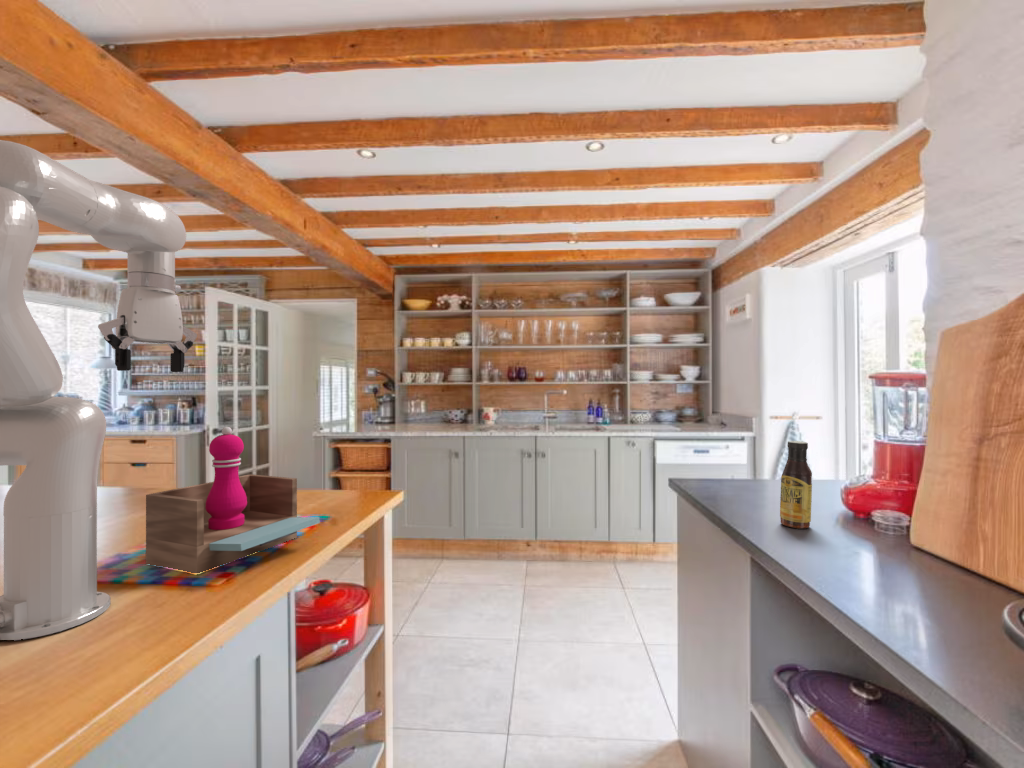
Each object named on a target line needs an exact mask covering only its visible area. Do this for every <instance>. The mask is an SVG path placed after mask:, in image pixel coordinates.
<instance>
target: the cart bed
mask: <svg viewBox="0 0 1024 768" xmlns="http://www.w3.org/2000/svg"><path fill="white" fill-rule="evenodd" d="M239 480H240V483H241V485H242V487H243V489H244V491H245V493H246V497H247V506H246V507H245V509H244V510H243V511H242V512H241V513H242V514H244V524H243V525H241V526H239V527H236V528H232V529H226V530H211V529H209V528H208V520H209V518H211V517H212V516H211V515H210V514H209V513H208V512H207V511H206V508H205V506H206V500H207V497H208V494H209V492H210V490H211V488H212V486H213V482H214V481H209V482H204V483H201V484H200V483H199V484H193V485H190V486H189V485H188V486H184V487H179V488H178V487H177V488H173V489H169V490H164V491H158V492H155V493H154V492H153V493H147V494H145V565H146V564H150V565H156V566H163V567H168V568H173V569H178V570H183V571H187V572H191V573H200V572H203V571H206V570H209V569H212V568H214V567H217V566H220V565H223V564H226V563H229V562H232V561H234V560H237V559H239V558H242V557H245V556H247V555H250V554H253V553H255V552H258V551H261V552H263V551H266V550H269V549H271V548H274V547H276V546H275V545H277V546H279V545H282V544H284V543H283V542H285V543H287V542H289V540H290V541H292V540H291V539H293V540H295V539H297V538H298V532H297V533H295V534H292V535H289V536H287V537H284V538H281V539H278V540H276V541H273V542H270V543H267V544H265V545H262V546H260V545H257V546H254V547H251V548H248V549H246V550H243V551H215V550H210V548H209V544H210V543H213V542H216V541H219V540H222V539H225V538H228V537H231V536H235V535H238V534H241V533H244V532H247V531H250V530H253V529H256V528H259V527H263V526H266V525H269V524H272V523H275V522H278V521H281V520H284V519H288V518H292V517H298V478H296V477H283V476H273V475H262V474H251V473H250V474H246V475H241V476H239ZM294 538H295V539H294ZM286 541H287V542H286ZM281 543H282V544H281ZM278 544H279V545H278ZM273 546H274V547H273ZM270 547H271V548H270ZM268 548H269V549H268ZM265 549H266V550H265ZM262 550H263V551H262ZM258 553H259V552H258ZM255 554H256V553H255ZM253 555H254V554H253ZM250 556H251V555H250ZM245 558H246V557H245ZM242 559H243V558H242ZM237 561H238V560H237ZM234 562H235V561H234ZM232 563H233V562H232ZM229 564H230V563H229ZM150 565H149V566H150ZM226 565H227V564H226Z"/></svg>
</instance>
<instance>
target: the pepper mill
mask: <svg viewBox="0 0 1024 768" xmlns="http://www.w3.org/2000/svg"><path fill="white" fill-rule="evenodd" d="M232 431H233V430H232V428H231V427H229V426H225V427H223V428H222V429H221V433H222V434H221V435H218V436H215V437H214V438H213V439H212V440H211V441H210V443H209V447H208V450H209V451H208V452H209V454H210V455H211V456H212V457H213V458H214V459H212V461H211V462H212V465H211V466H212V467H213V468H214V477H213V481H212V482H213V486H212V488H211V490H210V492H209V494H208V497H207V500H206V506H205V508H206V511H207V512H208V513H209V514H210V515H211V516H212V517H211V518H209V520H208V528H209V529H211V530H226V529H232V528H236V527H239V526H241V525H243V524H244V514H242V513H241V512H242V511H243V510H244V509H245V507H246V506H247V497H246V493H245V491H244V489H243V487H242V485H241V483H240V480H239V474H240V473H239V467H240V466H241V464H242V462H241V461H242V458H241V457H240V455H241V454H242V453H243V451H244V448H245V445H244V442H243V440H242V438H241V437H239V436H238V435H236V434H232Z"/></svg>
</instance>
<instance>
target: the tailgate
mask: <svg viewBox="0 0 1024 768" xmlns="http://www.w3.org/2000/svg"><path fill="white" fill-rule="evenodd" d="M320 521H321V520H320V517H319V516H311V517H309V516H308V517H305V516H304V517H301V516H300V517H299V516H297V517H292V518H288V519H284V520H281V521H278V522H275V523H272V524H269V525H266V526H263V527H259V528H256V529H253V530H250V531H247V532H244V533H241V534H238V535H235V536H231V537H228V538H225V539H222V540H219V541H216V542H213V543H210V544H209V548H210V550H215V551H243V550H246V549H248V548H251V547H254V546H257V545H260V546H262V545H265V544H267V543H270V542H273V541H276V540H278V539H281V538H284V537H287V536H289V535H292V534H295V533H297V534H298V531H301V530H304V529H306V528H309V527H312V526H315V525H317V524H321V523H320Z"/></svg>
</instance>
